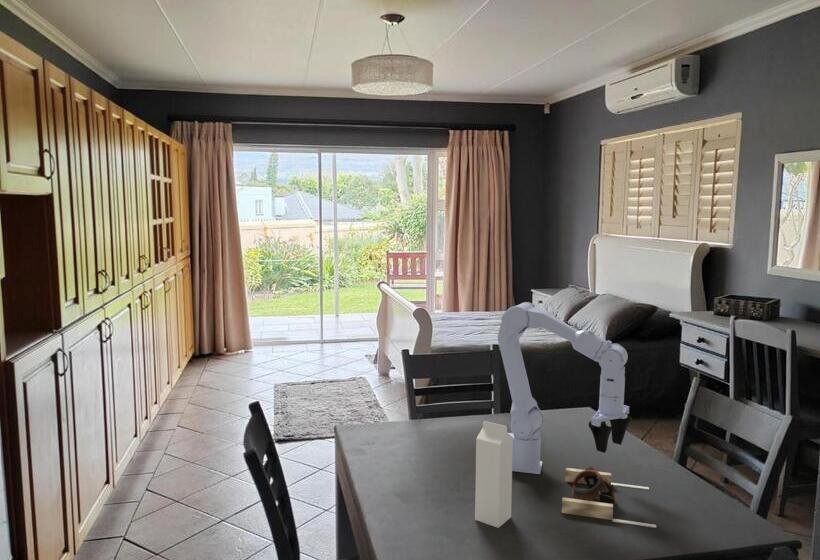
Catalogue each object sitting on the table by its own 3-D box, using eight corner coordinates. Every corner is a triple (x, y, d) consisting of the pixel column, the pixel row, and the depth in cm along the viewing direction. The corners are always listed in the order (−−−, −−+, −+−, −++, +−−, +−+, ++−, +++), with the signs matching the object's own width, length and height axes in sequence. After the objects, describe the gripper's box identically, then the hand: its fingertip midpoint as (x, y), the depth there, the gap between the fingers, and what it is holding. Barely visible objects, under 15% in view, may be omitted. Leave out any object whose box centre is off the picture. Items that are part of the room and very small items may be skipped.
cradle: (561, 512, 139) (562, 500, 139) (565, 478, 156) (566, 467, 156) (612, 520, 136) (613, 507, 135) (610, 484, 153) (611, 473, 153)
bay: (612, 521, 135) (612, 520, 135) (610, 483, 154) (610, 482, 154) (656, 527, 132) (656, 526, 132) (648, 488, 151) (648, 487, 151)
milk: (488, 509, 140) (489, 416, 138) (511, 517, 137) (513, 422, 134) (474, 520, 135) (475, 424, 133) (498, 528, 132) (500, 430, 130)
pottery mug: (623, 512, 140) (609, 486, 138) (584, 526, 142) (570, 500, 140) (610, 477, 151) (597, 452, 149) (574, 490, 154) (561, 466, 151)
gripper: (611, 404, 142) (608, 460, 144) (641, 392, 152) (638, 444, 154) (584, 397, 148) (582, 451, 149) (615, 385, 157) (612, 436, 159)
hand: (609, 447), depth 152 cm, fingers open, 7 cm apart
